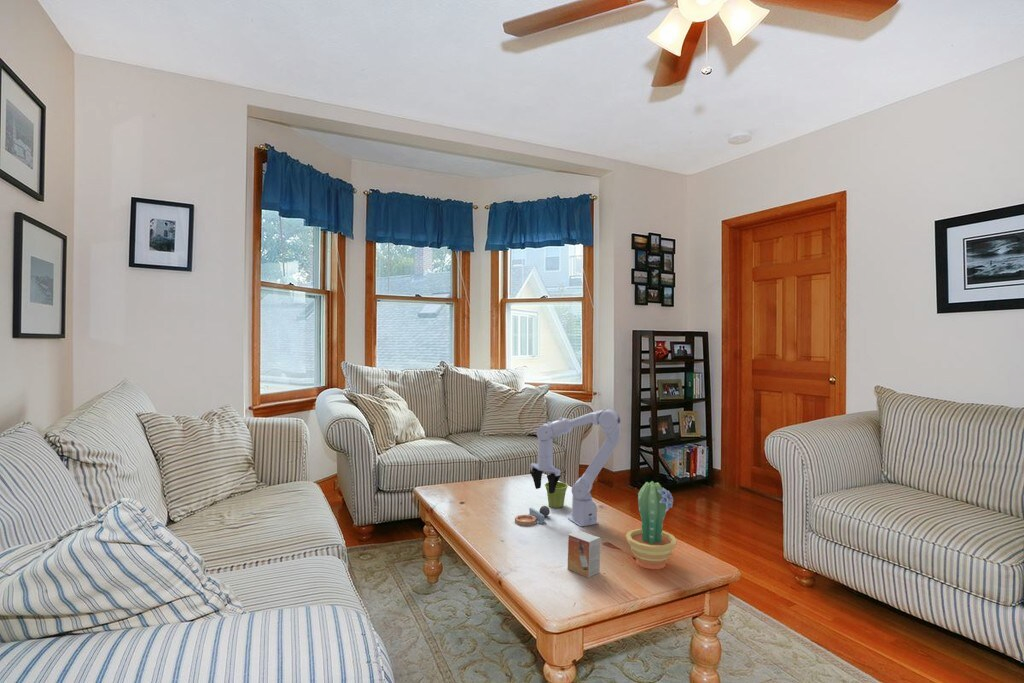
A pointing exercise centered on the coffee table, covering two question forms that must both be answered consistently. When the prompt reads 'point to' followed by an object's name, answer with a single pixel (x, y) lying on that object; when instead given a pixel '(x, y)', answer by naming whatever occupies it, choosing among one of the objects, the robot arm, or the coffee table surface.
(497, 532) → the coffee table surface
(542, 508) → the ball
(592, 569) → the small box
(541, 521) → the blue slab with nubs
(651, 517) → the potted cactus
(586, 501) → the robot arm
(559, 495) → the plant pot
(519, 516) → the bowl
